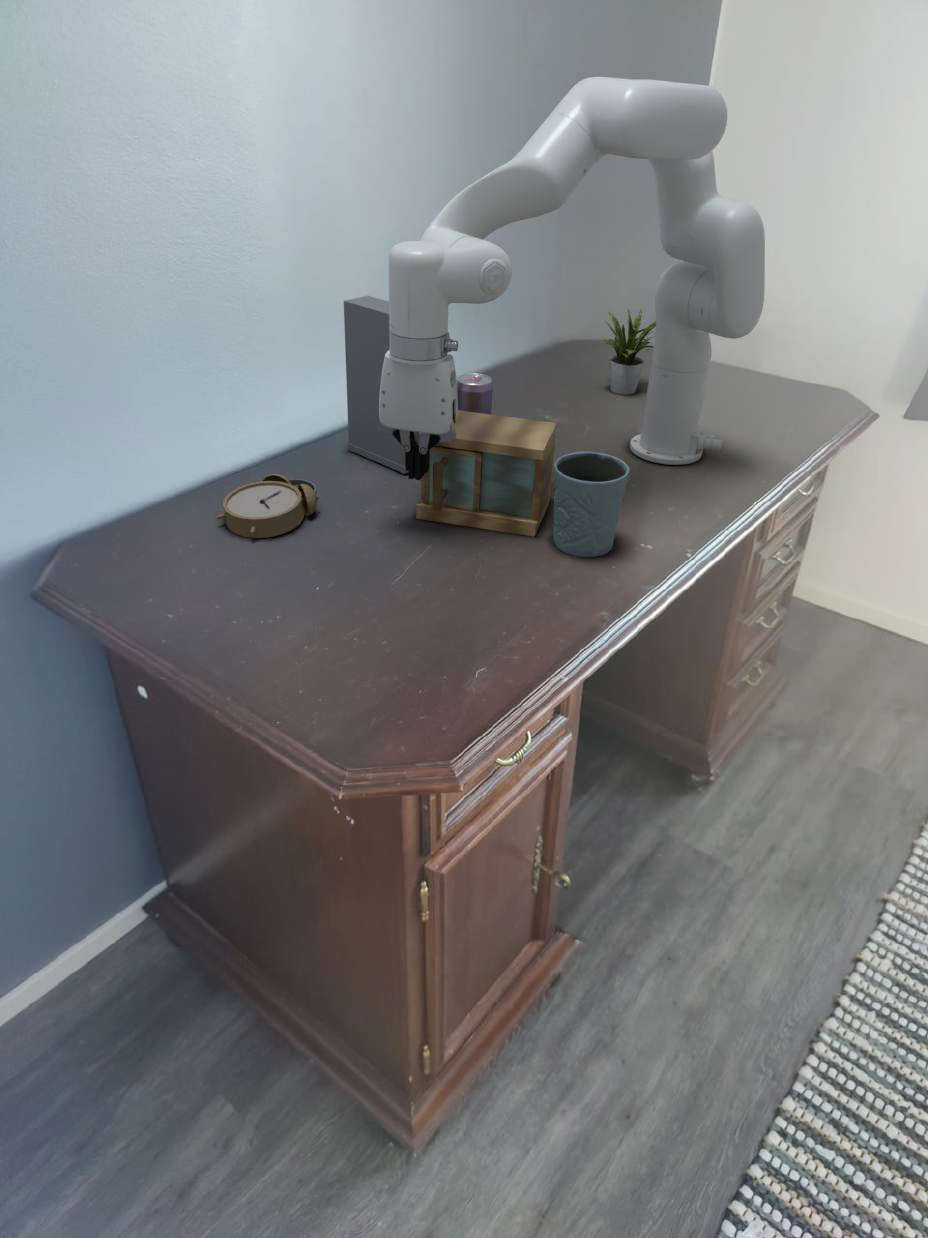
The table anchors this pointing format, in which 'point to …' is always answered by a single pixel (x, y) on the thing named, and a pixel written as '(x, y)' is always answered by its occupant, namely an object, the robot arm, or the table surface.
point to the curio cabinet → (503, 472)
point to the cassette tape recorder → (368, 380)
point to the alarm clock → (269, 506)
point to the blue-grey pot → (587, 502)
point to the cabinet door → (453, 479)
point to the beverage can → (474, 393)
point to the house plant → (627, 355)
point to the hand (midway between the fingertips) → (417, 475)
